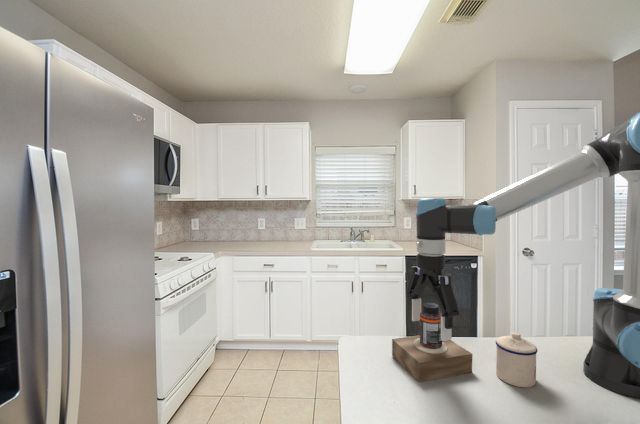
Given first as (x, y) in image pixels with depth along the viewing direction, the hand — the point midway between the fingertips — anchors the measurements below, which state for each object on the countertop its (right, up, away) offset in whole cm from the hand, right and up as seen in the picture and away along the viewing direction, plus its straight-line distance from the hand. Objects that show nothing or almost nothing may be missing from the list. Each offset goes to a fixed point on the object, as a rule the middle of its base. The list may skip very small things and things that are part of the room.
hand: (430, 329), depth 88 cm
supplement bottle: (0, -4, 0) cm, 4 cm away
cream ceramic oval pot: (+19, -10, -6) cm, 23 cm away
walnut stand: (0, -10, 0) cm, 10 cm away
